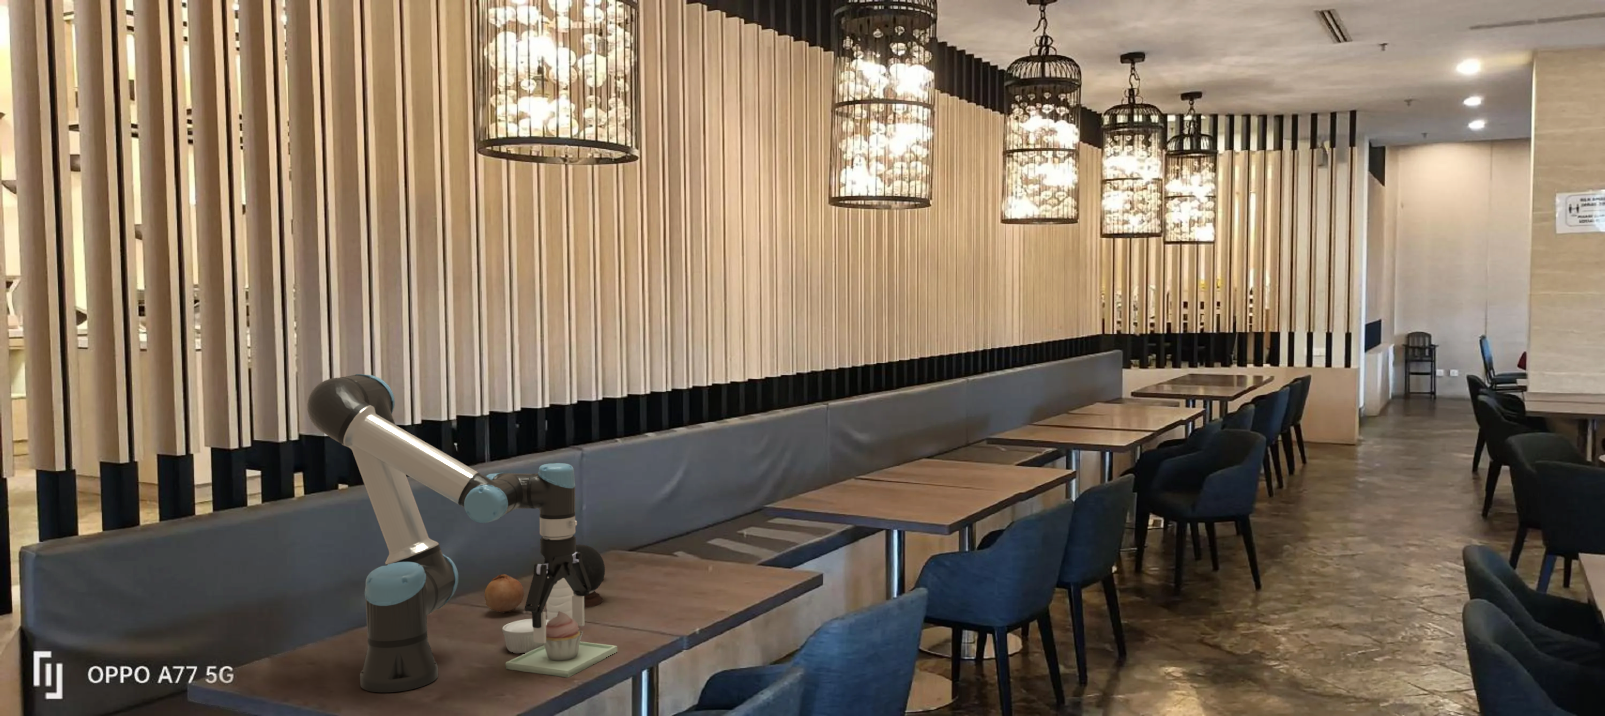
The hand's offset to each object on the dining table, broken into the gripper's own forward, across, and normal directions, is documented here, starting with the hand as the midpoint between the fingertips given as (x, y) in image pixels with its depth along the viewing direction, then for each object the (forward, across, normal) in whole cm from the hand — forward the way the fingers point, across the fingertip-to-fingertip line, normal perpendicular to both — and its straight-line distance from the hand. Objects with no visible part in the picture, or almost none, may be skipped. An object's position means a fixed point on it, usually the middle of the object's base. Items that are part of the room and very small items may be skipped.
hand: (559, 633), depth 246 cm
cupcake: (+5, 0, -1) cm, 5 cm away
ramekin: (+6, +5, +12) cm, 15 cm away
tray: (+6, 0, 0) cm, 6 cm away
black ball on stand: (+6, +41, +24) cm, 48 cm away
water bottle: (+6, +21, +14) cm, 26 cm away
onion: (+7, +26, +36) cm, 45 cm away
